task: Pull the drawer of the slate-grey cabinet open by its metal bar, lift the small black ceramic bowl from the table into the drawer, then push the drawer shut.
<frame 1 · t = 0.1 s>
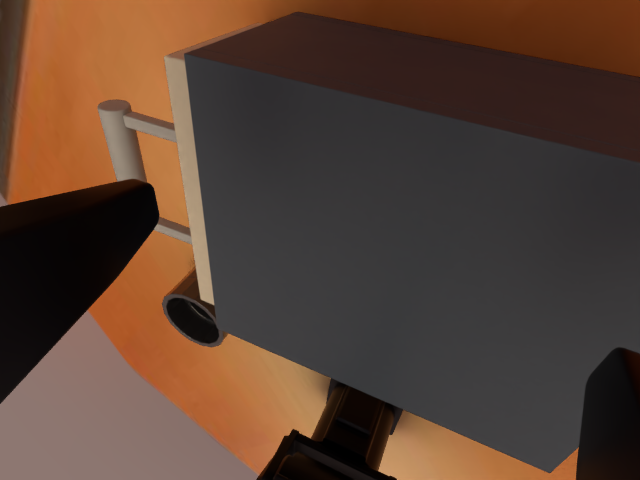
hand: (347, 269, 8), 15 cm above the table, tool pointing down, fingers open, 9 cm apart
drawer: (326, 204, 20), point 4 cm above the table, slide at 0.5 cm
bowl: (224, 284, 35), on the table
cabinet: (436, 190, 22), on the table
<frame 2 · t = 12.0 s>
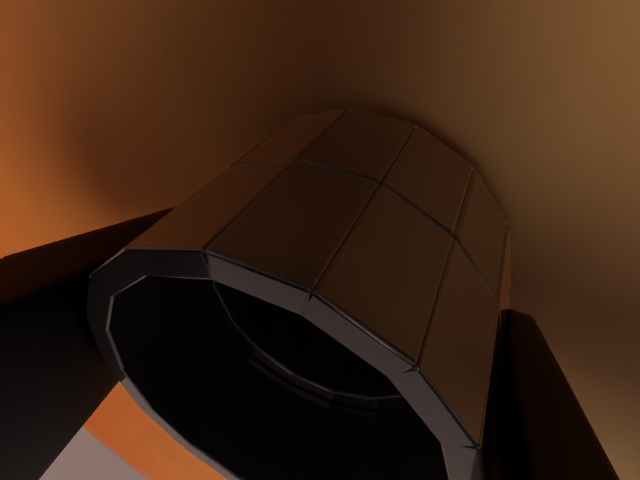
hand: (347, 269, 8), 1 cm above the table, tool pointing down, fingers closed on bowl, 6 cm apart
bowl: (366, 233, 9), on the table, touching gripper
when the fingers open (5 cm above the table, at t = 31.8 s): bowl drops 2 cm, resting on drawer.
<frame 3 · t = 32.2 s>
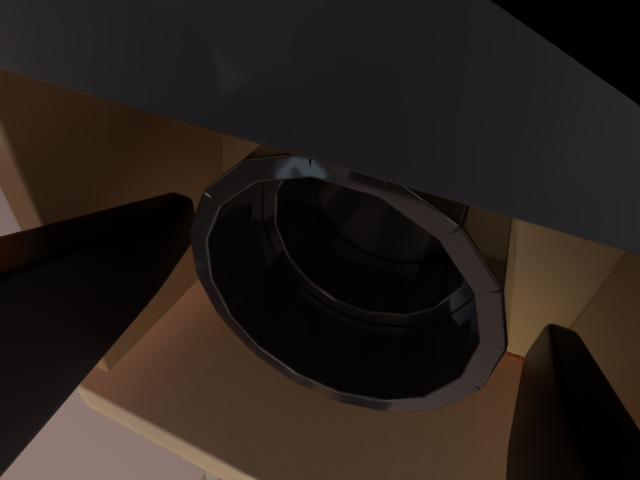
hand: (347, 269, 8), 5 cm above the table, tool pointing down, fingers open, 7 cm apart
drawer: (360, 271, 9), point 4 cm above the table, slide at 9.6 cm, touching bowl
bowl: (396, 184, 10), point 2 cm above the table, touching drawer
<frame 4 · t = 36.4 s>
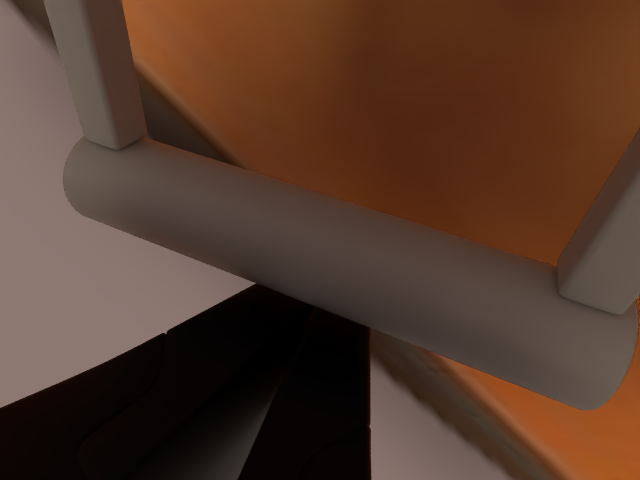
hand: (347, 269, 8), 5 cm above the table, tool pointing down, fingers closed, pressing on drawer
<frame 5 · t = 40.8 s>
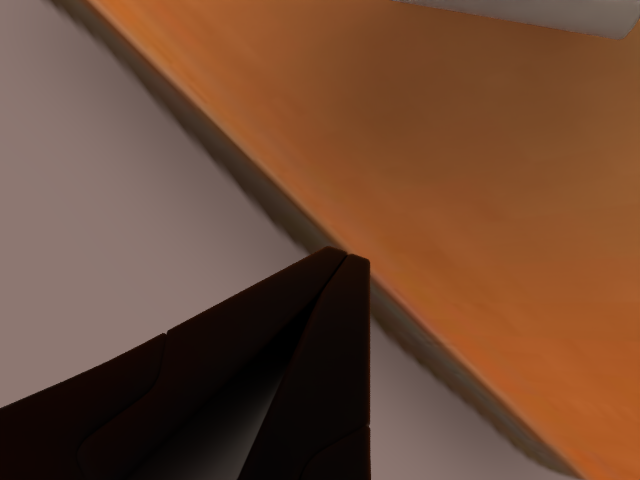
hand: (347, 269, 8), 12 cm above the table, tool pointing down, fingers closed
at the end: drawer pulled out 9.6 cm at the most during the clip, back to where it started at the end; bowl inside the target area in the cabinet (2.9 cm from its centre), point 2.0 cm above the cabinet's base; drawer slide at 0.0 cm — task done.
